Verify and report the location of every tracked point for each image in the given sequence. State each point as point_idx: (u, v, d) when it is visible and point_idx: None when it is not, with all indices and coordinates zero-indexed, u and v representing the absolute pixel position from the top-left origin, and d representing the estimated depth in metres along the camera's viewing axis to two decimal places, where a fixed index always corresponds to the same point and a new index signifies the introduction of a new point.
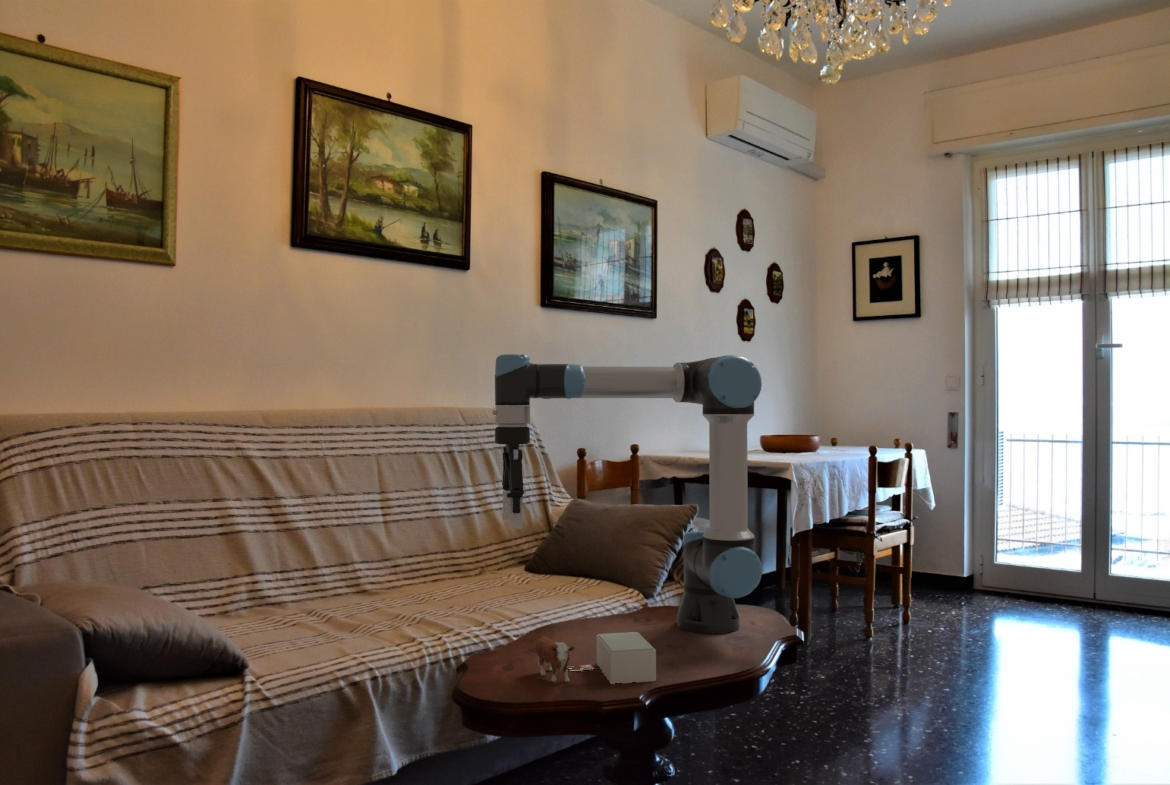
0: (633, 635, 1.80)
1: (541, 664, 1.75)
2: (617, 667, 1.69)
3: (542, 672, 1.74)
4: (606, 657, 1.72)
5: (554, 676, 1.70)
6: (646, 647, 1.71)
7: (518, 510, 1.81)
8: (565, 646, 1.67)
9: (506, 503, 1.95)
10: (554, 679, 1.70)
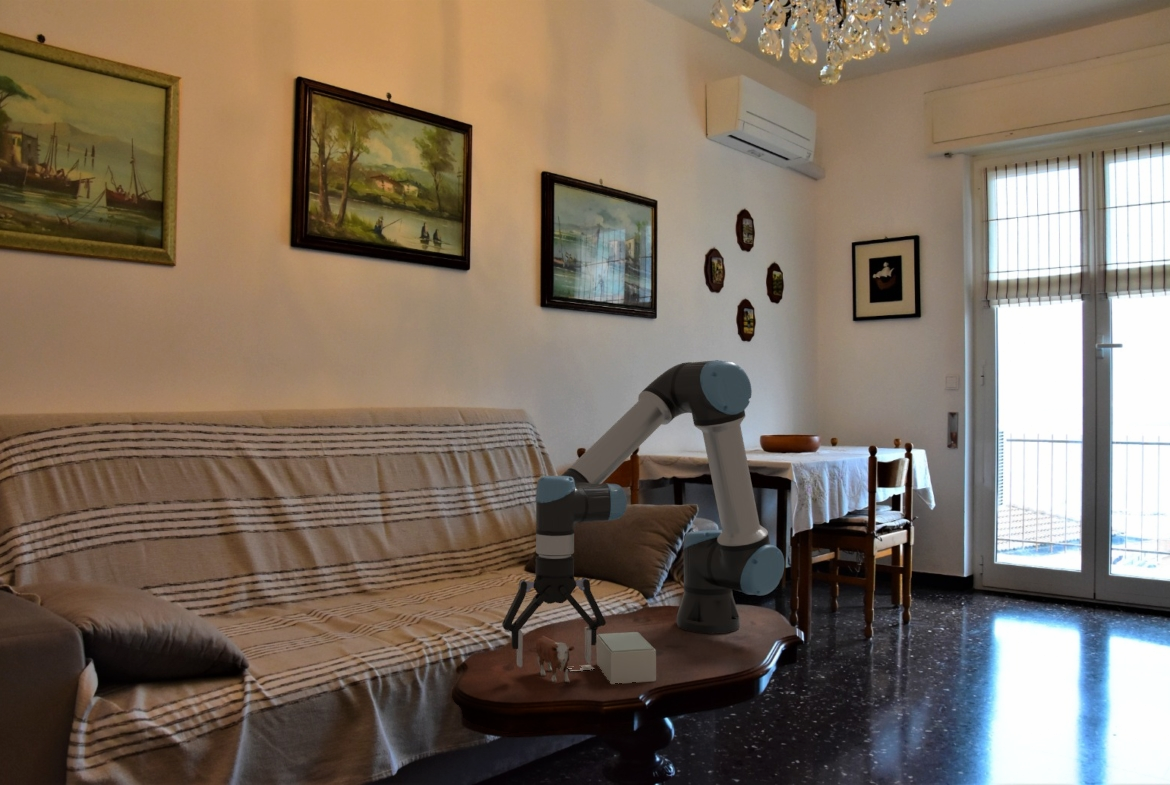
0: (633, 635, 1.80)
1: (541, 664, 1.75)
2: (617, 667, 1.69)
3: (542, 672, 1.74)
4: (606, 657, 1.72)
5: (554, 676, 1.70)
6: (646, 647, 1.71)
7: (512, 645, 1.70)
8: (565, 646, 1.67)
9: (585, 641, 1.74)
10: (554, 679, 1.70)
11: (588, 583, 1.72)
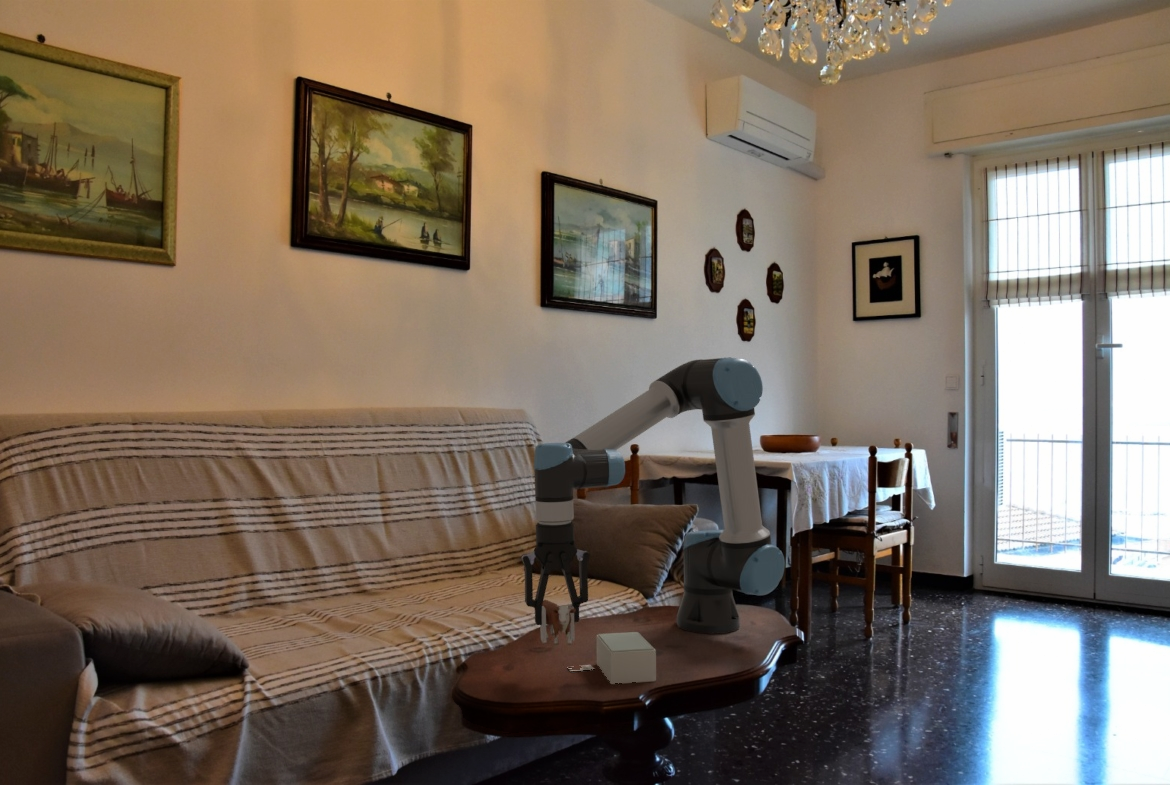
0: (633, 635, 1.80)
1: None
2: (617, 667, 1.69)
3: None
4: (606, 657, 1.72)
5: (556, 639, 1.70)
6: (646, 647, 1.71)
7: None
8: (566, 608, 1.67)
9: None
10: (556, 641, 1.70)
11: (588, 556, 1.72)
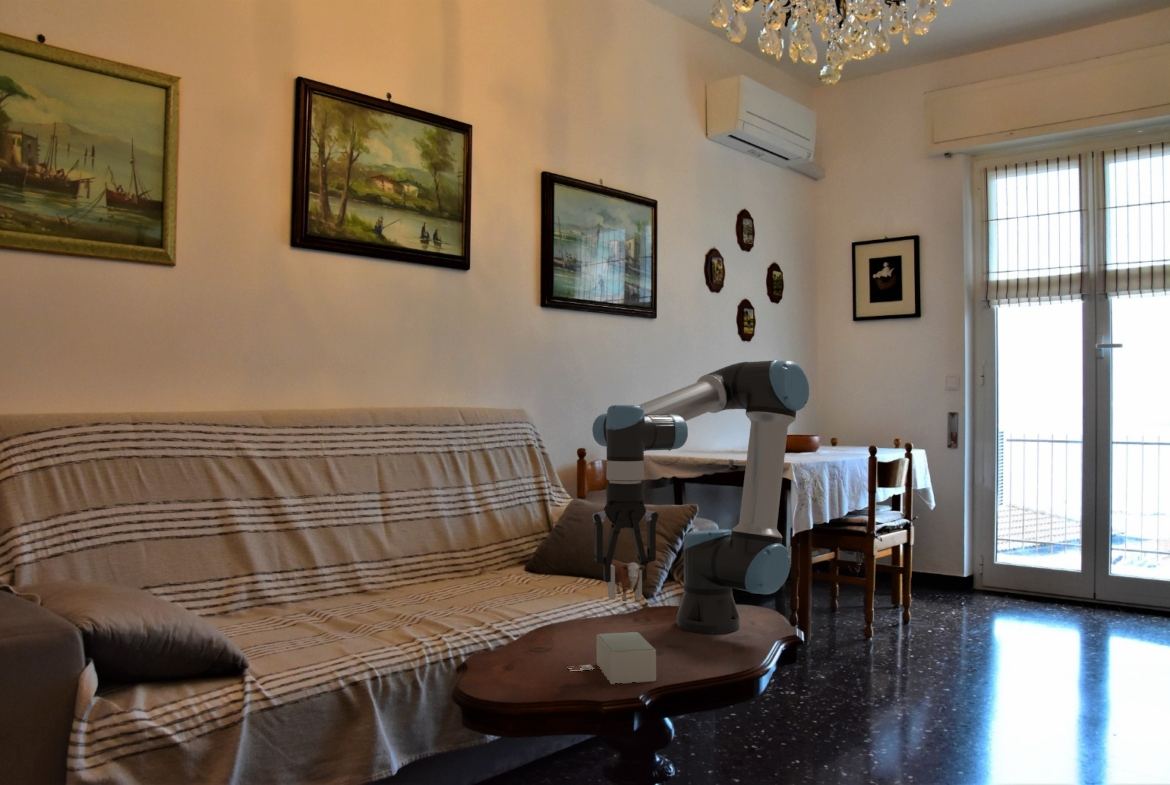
0: (633, 635, 1.80)
1: None
2: (617, 667, 1.69)
3: None
4: (606, 657, 1.72)
5: (624, 595, 1.74)
6: (646, 647, 1.71)
7: (604, 579, 1.75)
8: (636, 565, 1.71)
9: None
10: (624, 598, 1.74)
11: (656, 516, 1.76)
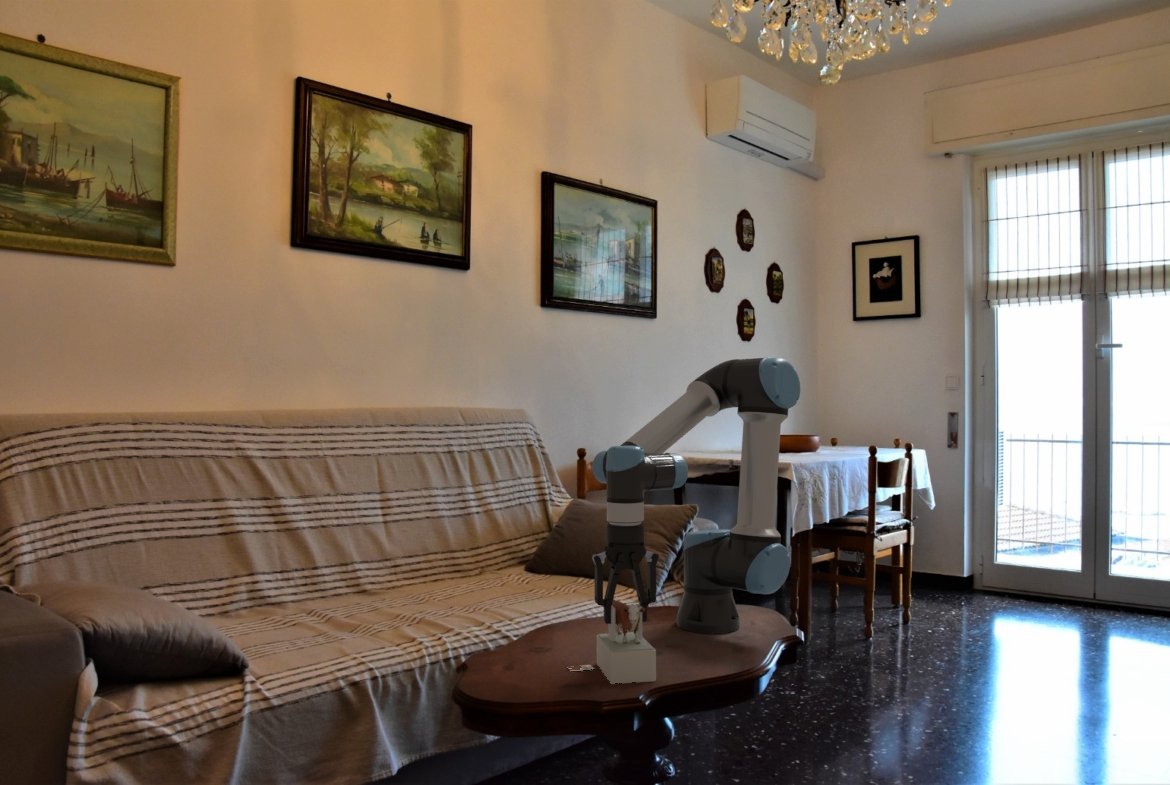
0: (633, 635, 1.80)
1: None
2: (617, 667, 1.69)
3: None
4: (606, 657, 1.72)
5: (625, 637, 1.74)
6: (646, 647, 1.71)
7: (605, 620, 1.75)
8: (636, 607, 1.71)
9: None
10: (625, 640, 1.74)
11: (657, 558, 1.76)
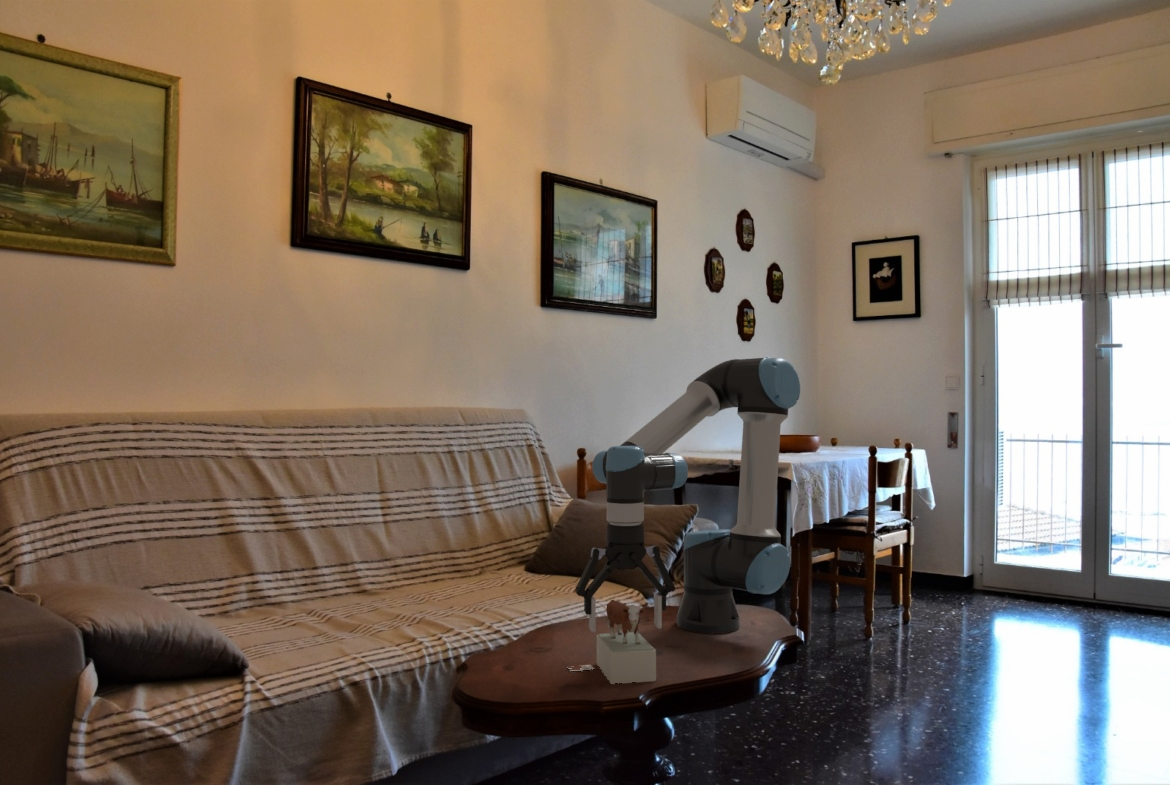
0: (633, 635, 1.80)
1: (611, 627, 1.79)
2: (617, 667, 1.69)
3: (612, 634, 1.78)
4: (606, 657, 1.72)
5: (625, 638, 1.74)
6: (646, 647, 1.71)
7: (585, 611, 1.74)
8: (636, 608, 1.71)
9: (655, 607, 1.78)
10: (625, 640, 1.74)
11: (658, 550, 1.76)
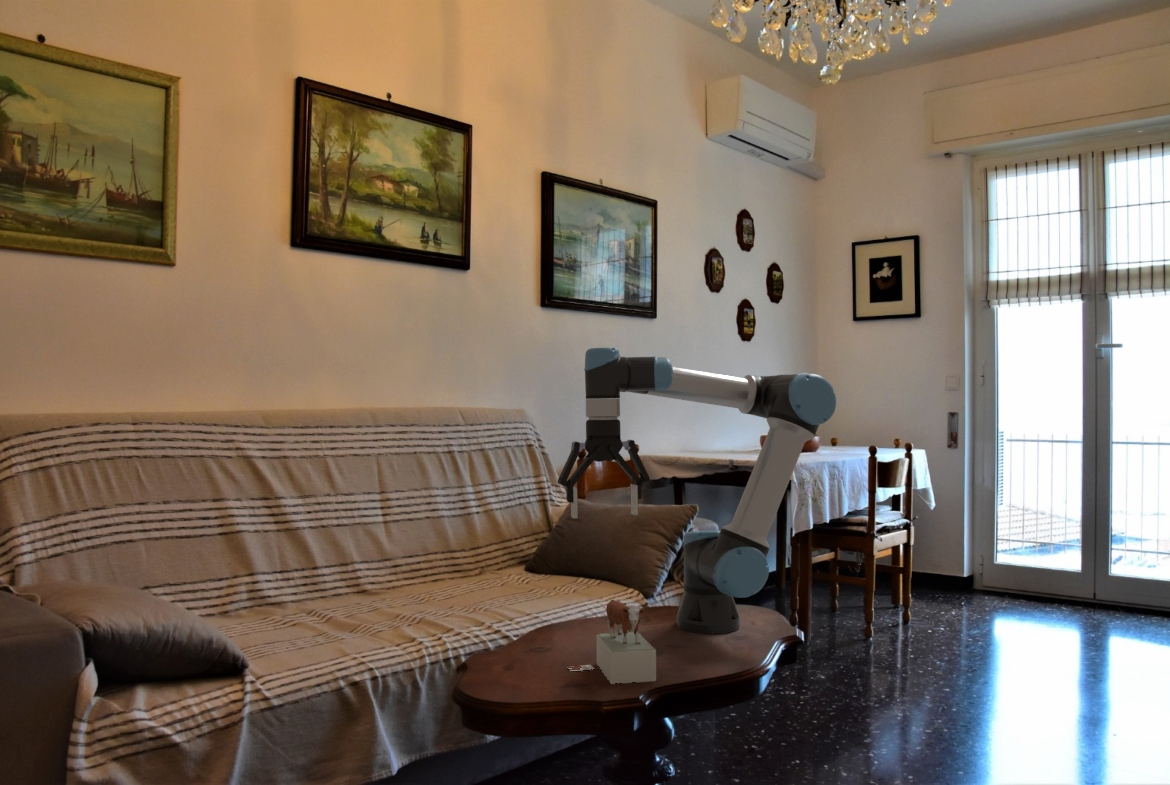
0: (633, 635, 1.80)
1: (611, 627, 1.79)
2: (617, 667, 1.69)
3: (612, 634, 1.78)
4: (606, 657, 1.72)
5: (625, 638, 1.74)
6: (646, 647, 1.71)
7: (567, 499, 1.88)
8: (636, 608, 1.71)
9: (631, 496, 1.93)
10: (625, 640, 1.74)
11: (633, 443, 1.91)
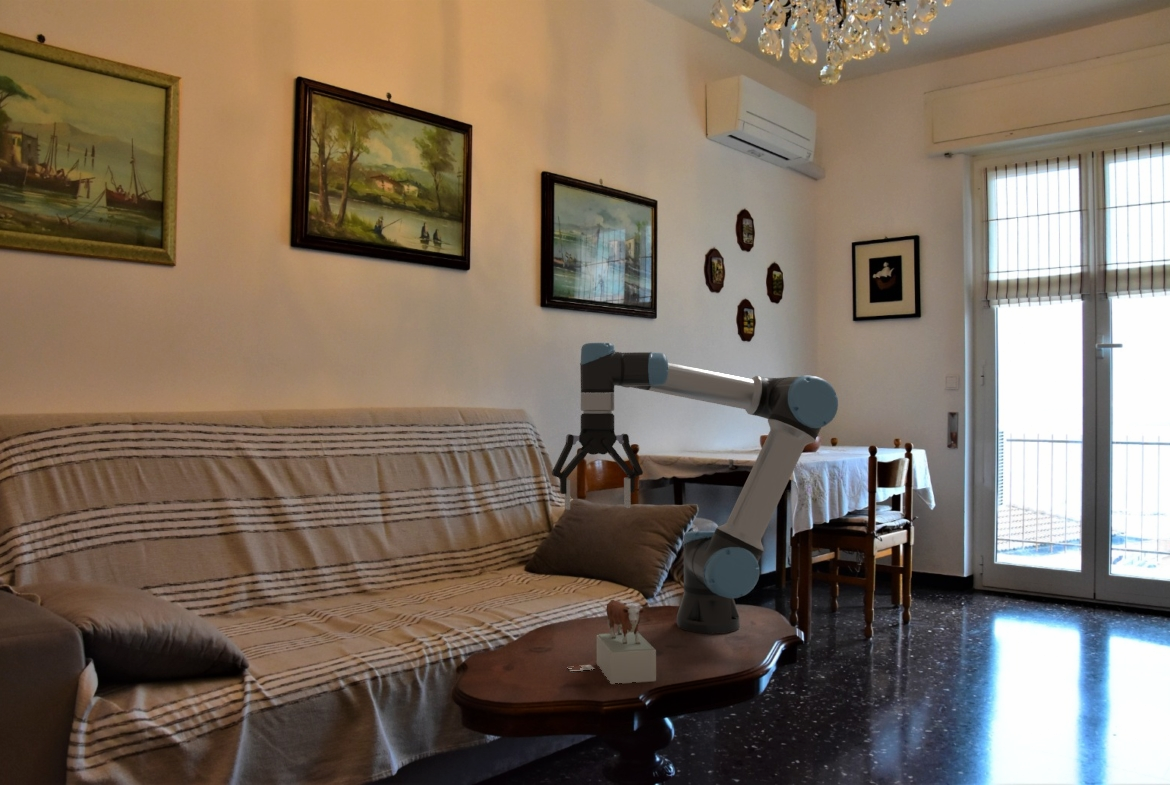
0: (633, 635, 1.80)
1: (611, 627, 1.79)
2: (617, 667, 1.69)
3: (612, 634, 1.78)
4: (606, 657, 1.72)
5: (625, 638, 1.74)
6: (646, 647, 1.71)
7: (561, 491, 1.92)
8: (636, 608, 1.71)
9: (624, 489, 1.96)
10: (625, 640, 1.74)
11: (627, 437, 1.95)
